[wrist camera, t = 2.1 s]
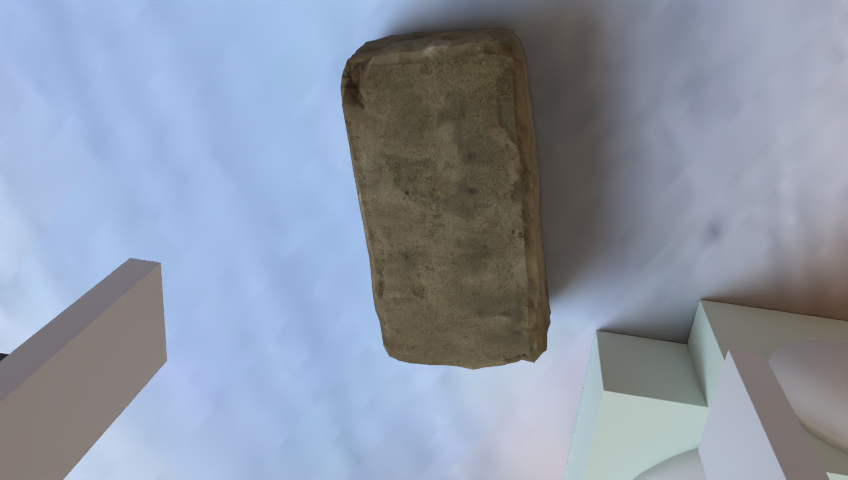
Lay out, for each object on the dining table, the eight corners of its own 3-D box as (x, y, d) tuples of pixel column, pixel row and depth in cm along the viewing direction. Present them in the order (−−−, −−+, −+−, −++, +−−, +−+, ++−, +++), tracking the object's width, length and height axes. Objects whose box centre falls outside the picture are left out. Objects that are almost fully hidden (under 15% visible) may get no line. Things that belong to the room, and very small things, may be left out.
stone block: (526, 10, 24) (521, 32, 20) (553, 309, 29) (555, 384, 24) (359, 33, 25) (320, 59, 21) (411, 318, 30) (387, 390, 25)
